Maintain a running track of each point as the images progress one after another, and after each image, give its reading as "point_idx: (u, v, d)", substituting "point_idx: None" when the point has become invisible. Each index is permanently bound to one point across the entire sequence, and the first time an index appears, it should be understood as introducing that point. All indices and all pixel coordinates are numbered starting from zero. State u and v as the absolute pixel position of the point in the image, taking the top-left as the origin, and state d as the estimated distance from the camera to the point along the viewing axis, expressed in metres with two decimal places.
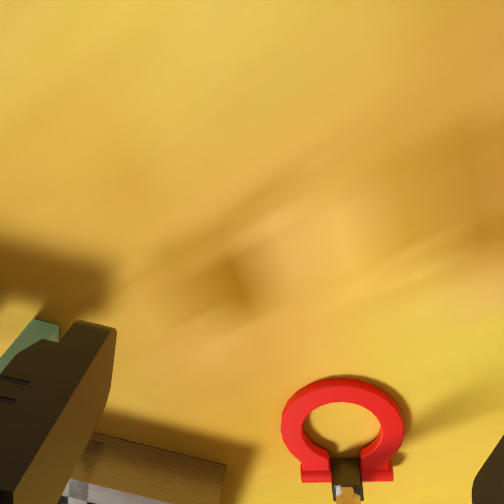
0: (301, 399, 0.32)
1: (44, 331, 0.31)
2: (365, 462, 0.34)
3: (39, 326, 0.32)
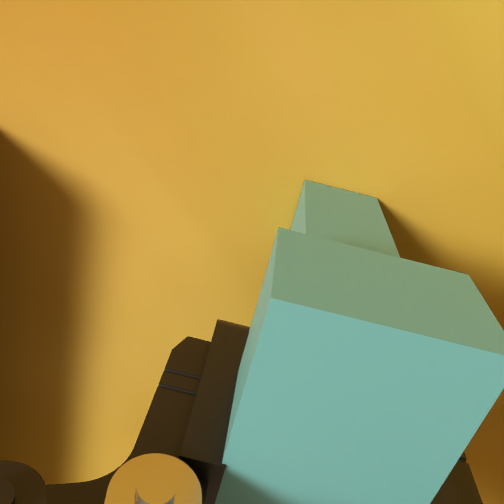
0: None
1: None
2: None
3: None
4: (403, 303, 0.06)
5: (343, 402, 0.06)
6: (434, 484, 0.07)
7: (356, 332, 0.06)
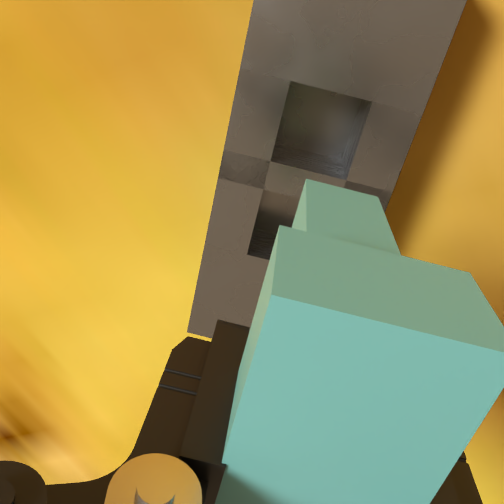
0: None
1: None
2: None
3: None
4: (404, 300, 0.06)
5: (345, 399, 0.06)
6: (435, 482, 0.07)
7: (357, 329, 0.06)
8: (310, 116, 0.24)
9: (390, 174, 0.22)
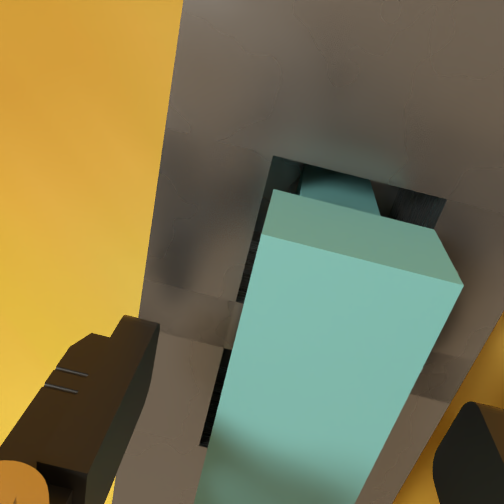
0: None
1: None
2: None
3: None
4: (371, 244, 0.07)
5: (322, 324, 0.07)
6: (400, 399, 0.08)
7: (330, 262, 0.07)
8: None
9: (473, 332, 0.11)
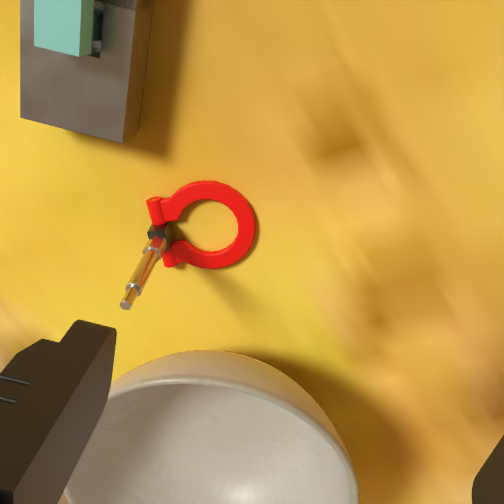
0: (237, 197, 0.41)
1: None
2: (180, 246, 0.44)
3: None
4: None
5: None
6: None
7: None
8: None
9: None
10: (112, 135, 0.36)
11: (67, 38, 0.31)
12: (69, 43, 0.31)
